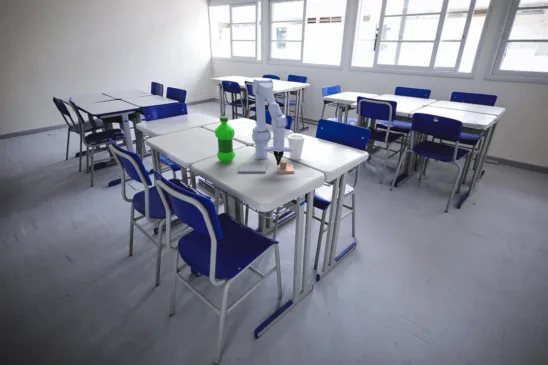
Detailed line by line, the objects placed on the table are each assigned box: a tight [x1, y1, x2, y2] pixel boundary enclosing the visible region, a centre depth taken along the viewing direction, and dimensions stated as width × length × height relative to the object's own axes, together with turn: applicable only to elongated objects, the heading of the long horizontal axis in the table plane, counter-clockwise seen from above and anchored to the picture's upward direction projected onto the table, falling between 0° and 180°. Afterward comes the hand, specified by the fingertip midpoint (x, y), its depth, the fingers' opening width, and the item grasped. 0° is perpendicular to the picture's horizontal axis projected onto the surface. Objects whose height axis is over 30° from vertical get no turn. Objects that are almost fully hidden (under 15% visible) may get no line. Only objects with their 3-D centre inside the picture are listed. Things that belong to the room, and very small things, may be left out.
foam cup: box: [287, 133, 305, 160], centre depth 164 cm, size 10×9×13 cm
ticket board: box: [237, 163, 266, 174], centre depth 150 cm, size 10×14×1 cm
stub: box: [277, 158, 295, 174], centre depth 150 cm, size 10×8×5 cm
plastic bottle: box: [214, 116, 236, 164], centre depth 155 cm, size 10×10×25 cm
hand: (278, 164), depth 149 cm, fingers closed
